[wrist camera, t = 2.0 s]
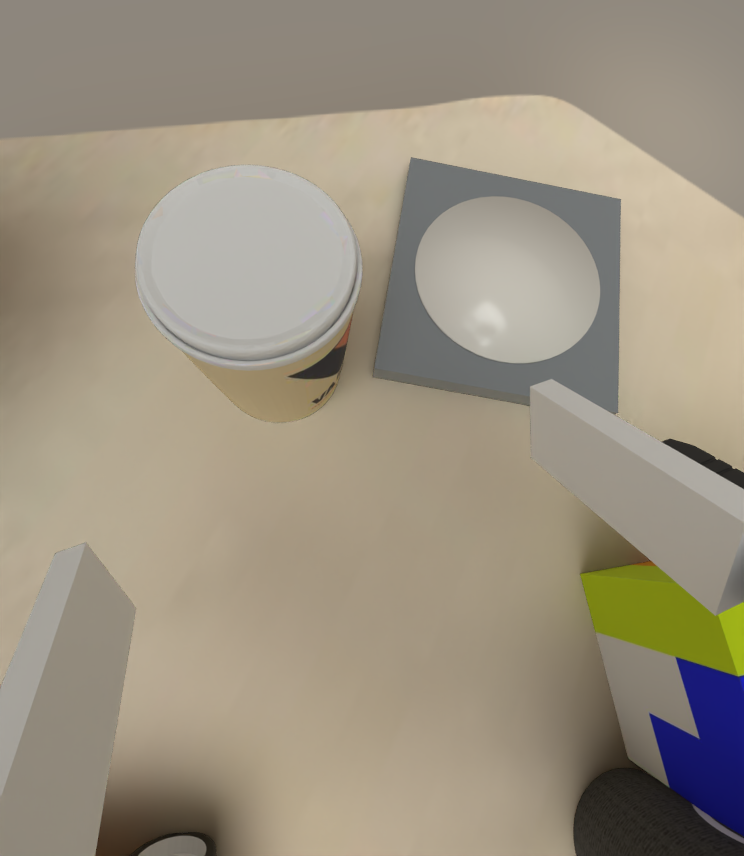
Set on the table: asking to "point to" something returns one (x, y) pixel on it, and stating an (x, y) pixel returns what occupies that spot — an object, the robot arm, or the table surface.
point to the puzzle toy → (674, 684)
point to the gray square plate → (502, 287)
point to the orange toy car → (178, 845)
